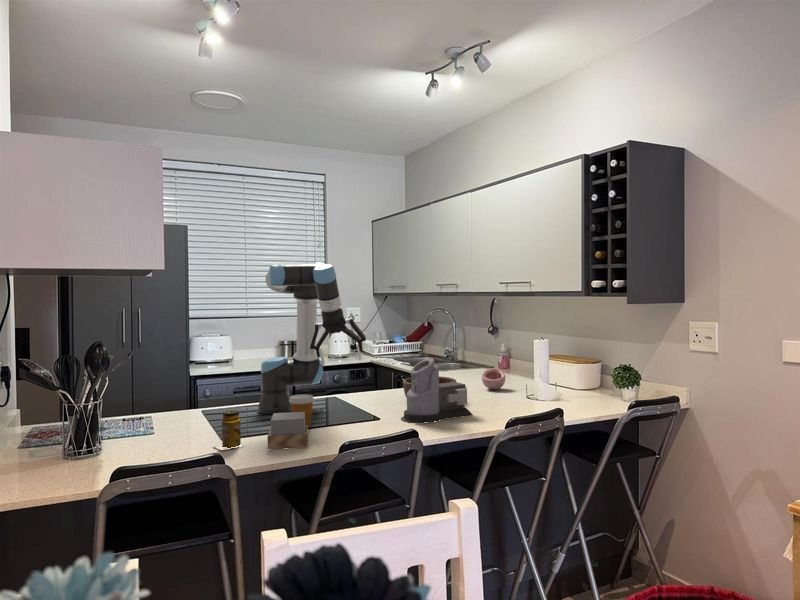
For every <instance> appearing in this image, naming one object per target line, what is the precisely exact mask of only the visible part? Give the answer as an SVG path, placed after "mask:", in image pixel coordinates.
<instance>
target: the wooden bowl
mask: <svg viewBox="0 0 800 600" xmlns="http://www.w3.org/2000/svg"><path fill="white" fill-rule="evenodd" d="M450 382H457V380H456V379H455V378H452V377H450V376H449V377H447V376H440V375H439V384H441V383H450ZM402 388H403V392H404V395H405V398H406V399H407V392H408V391H409V390H410V389H411V377H408V378H405V379H403V381H402Z"/></svg>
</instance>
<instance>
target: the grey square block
mask: <svg viewBox="0 0 800 600" xmlns="http://www.w3.org/2000/svg"><path fill="white" fill-rule="evenodd" d="M270 428H271V435H285V434H303V433H305V412H292V411H290V412H286V413H273V414H272V416H271V419H270Z"/></svg>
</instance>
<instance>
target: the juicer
mask: <svg viewBox="0 0 800 600" xmlns="http://www.w3.org/2000/svg"><path fill="white" fill-rule="evenodd" d="M439 370H440V367H439V366H438V365H437V364H435V359H434V358H432V357H430V358H425V359H423V360H421V361H419V362H417V363H416V364H415V365H414V366H413V367H412V368H411V370H410V378H411V389H410V390H409V391H408V392H407V398H406V409H405V410H404V411H403V416H402V417H401V418H400V420H401V421H402V422H404V423H406V422H407V423H408V424H411V423H424V422H434V421H439V420H442V419H444V420H446V419H445V418H451V419H454V418H453V417H457V418H462V417H461V416H464V417H470V416H474V415H473V413H472V412H471V411H470V410H469V409H468V407H465V405H468V388H467V386H466V384H465V383H461V382H457V381H456V382H450V383H441V384H439V376H440V372H439ZM442 421H443V420H442ZM439 422H440V421H439ZM424 424H425V423H424Z"/></svg>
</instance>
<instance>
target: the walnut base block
mask: <svg viewBox="0 0 800 600" xmlns="http://www.w3.org/2000/svg"><path fill="white" fill-rule="evenodd" d="M308 443H309V428H308V425H305V433H303V434H285V435H271V427H270V428H269V431H268V434H267V450H268V449H278V450H284V449H283V448H296V449H307V448H308V446H307V445H309V444H308ZM306 447H307V448H306Z"/></svg>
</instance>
